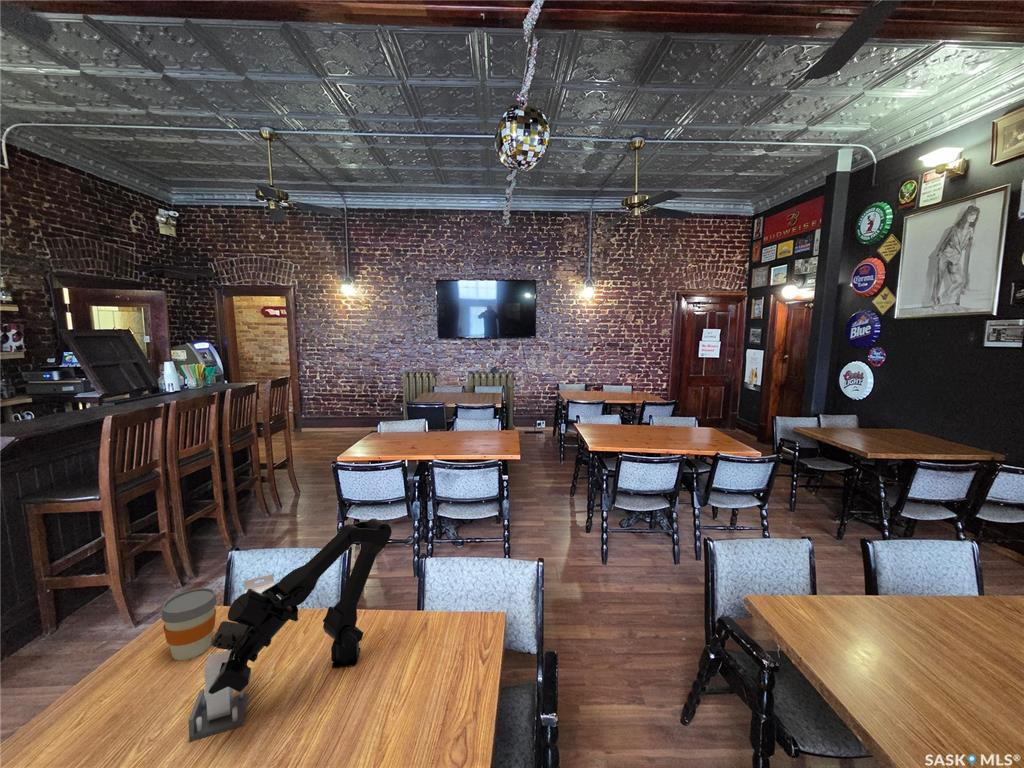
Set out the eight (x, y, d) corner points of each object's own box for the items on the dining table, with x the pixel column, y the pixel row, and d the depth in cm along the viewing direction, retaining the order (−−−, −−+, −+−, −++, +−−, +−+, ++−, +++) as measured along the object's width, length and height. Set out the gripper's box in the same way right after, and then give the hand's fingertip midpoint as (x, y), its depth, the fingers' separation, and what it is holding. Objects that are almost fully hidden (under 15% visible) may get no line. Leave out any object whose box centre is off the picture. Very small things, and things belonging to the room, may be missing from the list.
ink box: (244, 634, 127) (242, 588, 125) (244, 625, 131) (242, 580, 130) (276, 624, 131) (275, 580, 130) (275, 615, 135) (274, 572, 134)
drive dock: (249, 696, 104) (248, 677, 104) (242, 725, 96) (241, 705, 95) (201, 709, 100) (200, 690, 100) (189, 741, 92) (188, 720, 91)
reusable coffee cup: (224, 630, 128) (221, 584, 127) (210, 658, 116) (208, 607, 115) (174, 639, 124) (171, 591, 123) (155, 670, 112) (152, 617, 111)
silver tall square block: (234, 699, 101) (231, 649, 100) (230, 714, 97) (227, 662, 96) (212, 705, 99) (209, 654, 98) (207, 720, 95) (204, 667, 94)
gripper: (243, 590, 106) (193, 643, 103) (227, 636, 89) (166, 701, 85) (280, 612, 110) (232, 663, 106) (271, 660, 93) (214, 723, 89)
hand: (212, 685), depth 97 cm, fingers closed on silver tall square block, 4 cm apart
